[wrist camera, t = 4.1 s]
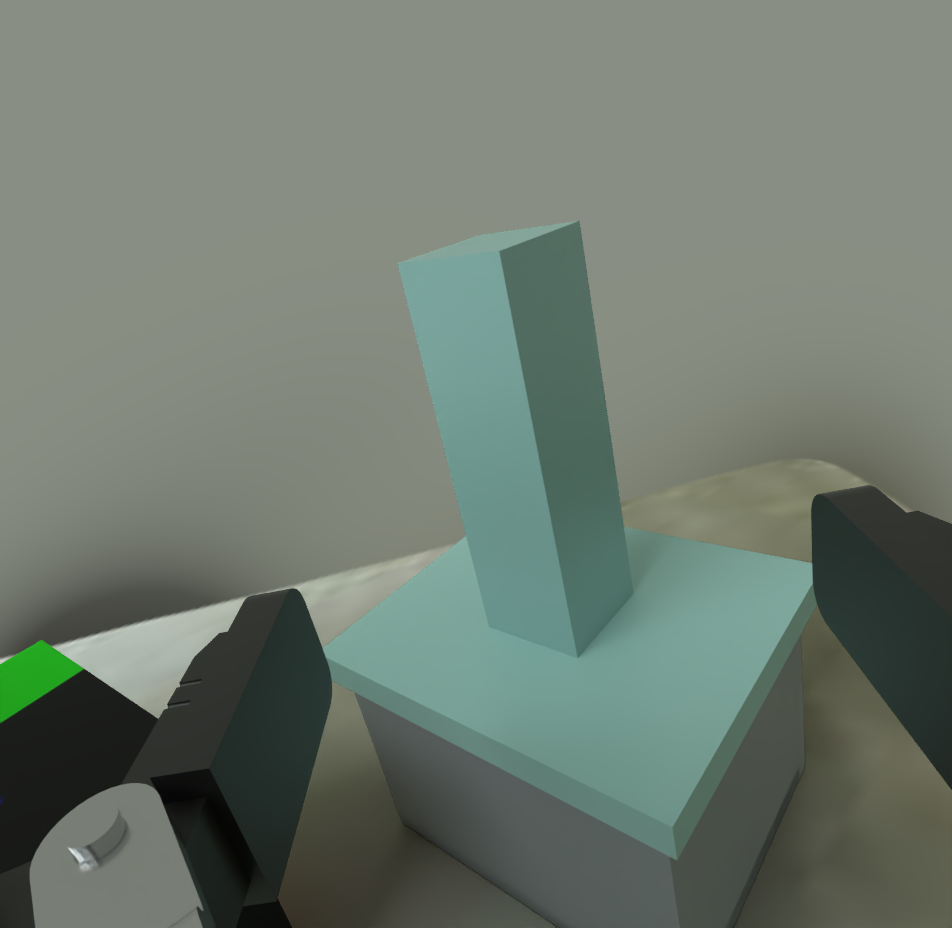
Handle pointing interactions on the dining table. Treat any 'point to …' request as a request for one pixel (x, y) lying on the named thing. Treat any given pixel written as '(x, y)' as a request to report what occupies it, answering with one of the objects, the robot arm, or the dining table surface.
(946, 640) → the robot arm
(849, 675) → the dining table surface
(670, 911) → the tub
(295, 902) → the dining table surface
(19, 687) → the puzzle toy
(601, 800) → the lid
